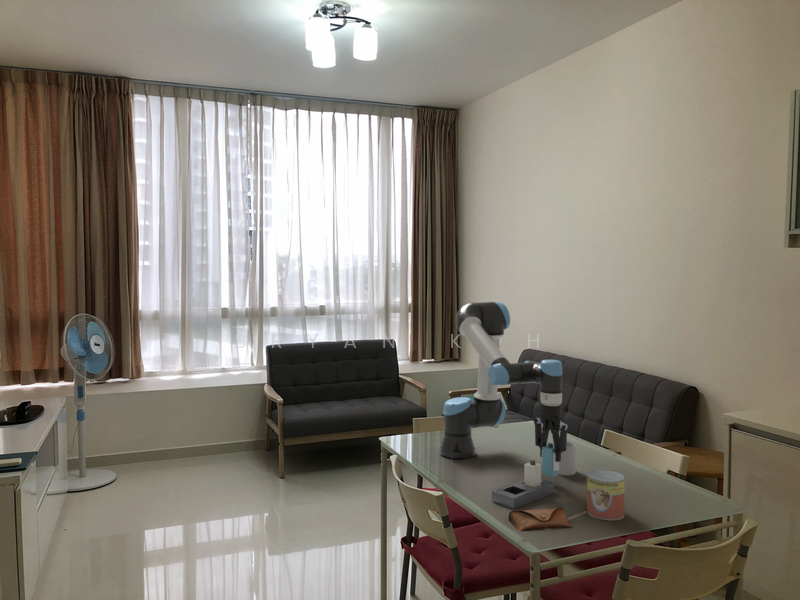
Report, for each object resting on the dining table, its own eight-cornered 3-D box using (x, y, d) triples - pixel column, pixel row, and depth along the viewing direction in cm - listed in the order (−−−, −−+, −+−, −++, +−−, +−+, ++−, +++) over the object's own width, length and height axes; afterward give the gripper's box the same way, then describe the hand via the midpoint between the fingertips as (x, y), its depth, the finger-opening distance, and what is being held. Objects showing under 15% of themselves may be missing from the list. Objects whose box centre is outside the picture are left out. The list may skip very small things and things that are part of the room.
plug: (542, 474, 213) (542, 443, 212) (548, 471, 215) (549, 441, 215) (551, 477, 210) (551, 446, 209) (558, 474, 212) (558, 443, 212)
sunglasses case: (518, 531, 174) (513, 508, 177) (510, 535, 180) (507, 512, 183) (575, 527, 177) (570, 503, 180) (566, 530, 183) (561, 508, 186)
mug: (579, 475, 223) (579, 446, 223) (558, 477, 222) (558, 448, 221) (565, 465, 235) (565, 438, 235) (545, 467, 234) (544, 439, 233)
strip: (513, 510, 190) (513, 498, 190) (492, 502, 197) (491, 491, 196) (554, 494, 204) (554, 482, 204) (532, 487, 211) (532, 476, 211)
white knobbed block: (524, 493, 204) (524, 460, 203) (531, 490, 206) (531, 458, 206) (534, 496, 201) (533, 463, 200) (541, 493, 203) (541, 461, 203)
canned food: (582, 515, 186) (582, 477, 185) (592, 503, 195) (592, 467, 195) (619, 523, 179) (619, 484, 179) (628, 511, 189) (628, 473, 188)
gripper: (525, 401, 215) (524, 464, 216) (565, 409, 202) (564, 477, 203) (537, 398, 220) (536, 460, 221) (578, 406, 207) (577, 472, 208)
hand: (550, 468), depth 212 cm, fingers closed on plug, 4 cm apart
